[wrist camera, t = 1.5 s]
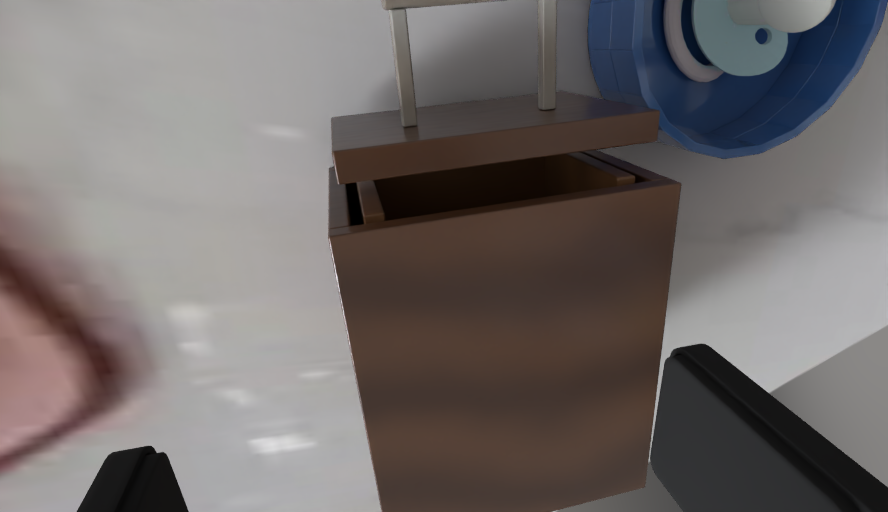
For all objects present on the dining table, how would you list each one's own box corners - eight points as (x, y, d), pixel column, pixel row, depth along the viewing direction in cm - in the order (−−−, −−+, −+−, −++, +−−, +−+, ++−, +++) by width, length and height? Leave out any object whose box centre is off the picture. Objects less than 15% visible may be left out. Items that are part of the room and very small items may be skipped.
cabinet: (328, 167, 26) (327, 236, 17) (564, 136, 29) (682, 182, 19) (372, 408, 33) (389, 554, 24) (560, 368, 35) (645, 487, 26)
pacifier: (678, 103, 29) (768, 49, 29) (758, 119, 23) (872, 52, 23) (640, -21, 26) (742, -84, 25) (722, -38, 20) (855, -119, 20)
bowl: (592, -133, 23) (647, -170, 19) (839, -142, 26) (934, -178, 22) (583, 156, 29) (623, 174, 25) (785, 128, 31) (852, 140, 27)
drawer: (308, -12, 22) (296, -43, 14) (564, -31, 24) (678, -67, 16) (374, 368, 31) (390, 480, 23) (558, 332, 33) (631, 423, 25)
